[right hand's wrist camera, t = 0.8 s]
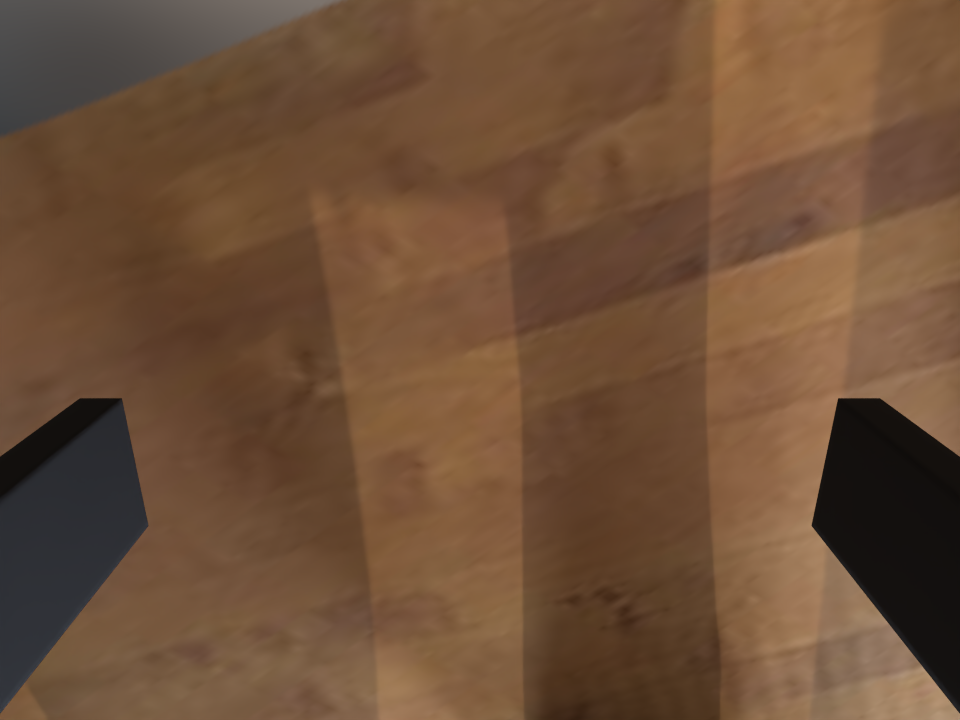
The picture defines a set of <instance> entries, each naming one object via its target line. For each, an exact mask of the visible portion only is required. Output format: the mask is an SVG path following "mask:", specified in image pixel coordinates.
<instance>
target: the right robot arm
mask: <svg viewBox="0 0 960 720" xmlns="http://www.w3.org/2000/svg"><path fill="white" fill-rule="evenodd" d="M147 527H148V522H147V517H146V512H145V507H144V503H143V498H142V493H141V488H140V483H139V479H138V474H137V469H136V464H135V459H134V455H133V450H132V445H131V440H130V435H129V431H128V426H127V421H126V416H125V411H124V407H123V402H122V398H80V399H79V400H77V401H76V402H74V403H73V404H72V405H70V406H69V407H68V408H66V409H65V410H64V411H62V412H61V413H59V414H58V415H57V416H55V417H54V418H53V419H51V420H50V421H48V422H47V423H46V424H44V425H43V426H42V427H40V428H39V429H38V430H36V431H35V432H33V433H32V434H31V435H29V436H28V437H27V438H25V439H24V440H23V441H21V442H20V443H18V444H17V445H16V446H14V447H13V448H12V449H10V450H9V451H8V452H6V453H5V454H3V455H2V456H1V457H0V713H1V712H2V711H3V709H4V708H5V707H6V706H7V704H8V703H9V702H10V700H11V699H12V698H13V697H14V695H15V694H16V693H17V692H18V690H19V689H20V688H21V687H22V685H23V684H24V683H25V681H26V680H27V679H28V678H29V676H30V675H31V674H32V673H33V671H34V670H35V669H36V668H37V666H38V665H39V664H40V662H41V661H42V660H43V659H44V657H45V656H46V655H47V654H48V652H49V651H50V650H51V649H52V647H53V646H54V645H55V643H56V642H57V641H58V640H59V638H60V637H61V636H62V635H63V633H64V632H65V631H66V630H67V628H68V627H69V626H70V624H71V623H72V622H73V621H74V619H75V618H76V617H77V616H78V614H79V613H80V612H81V611H82V609H83V608H84V607H85V605H86V604H87V603H88V602H89V600H90V599H91V598H92V597H93V595H94V594H95V593H96V592H97V590H98V589H99V588H100V586H101V585H102V584H103V583H104V581H105V580H106V579H107V578H108V576H109V575H110V574H111V573H112V571H113V570H114V569H115V567H116V566H117V565H118V564H119V562H120V561H121V560H122V559H123V557H124V556H125V555H126V554H127V552H128V551H129V550H130V548H131V547H132V546H133V545H134V543H135V542H136V541H137V540H138V538H139V537H140V536H141V534H142V533H143V532H144V531H145V529H146V528H147ZM812 527H813V528H814V529H815V531H816V532H817V533H818V534H819V536H820V537H821V538H822V540H823V541H824V542H825V543H826V545H827V546H828V547H829V548H830V550H831V551H832V552H833V554H834V555H835V556H836V557H837V559H838V560H839V561H840V562H841V564H842V565H843V566H844V567H845V569H846V570H847V571H848V573H849V574H850V575H851V576H852V578H853V579H854V580H855V581H856V583H857V584H858V585H859V586H860V588H861V589H862V590H863V592H864V593H865V594H866V595H867V597H868V598H869V599H870V600H871V602H872V603H873V604H874V605H875V607H876V608H877V609H878V611H879V612H880V613H881V614H882V616H883V617H884V618H885V619H886V621H887V622H888V623H889V624H890V626H891V627H892V628H893V630H894V631H895V632H896V633H897V635H898V636H899V637H900V638H901V640H902V641H903V642H904V643H905V645H906V646H907V647H908V649H909V650H910V651H911V652H912V654H913V655H914V656H915V657H916V659H917V660H918V661H919V662H920V664H921V665H922V666H923V668H924V669H925V670H926V671H927V673H928V674H929V675H930V676H931V678H932V679H933V680H934V681H935V683H936V684H937V685H938V687H939V688H940V689H941V690H942V692H943V693H944V694H945V695H946V697H947V698H948V699H949V700H950V702H951V703H952V704H953V706H954V707H955V708H956V709H957V711H958V712H959V713H960V457H959V456H958V455H957V454H955V453H954V452H952V451H951V450H950V449H948V448H947V447H946V446H944V445H943V444H942V443H940V442H939V441H937V440H936V439H935V438H933V437H932V436H931V435H929V434H928V433H927V432H925V431H924V430H922V429H921V428H920V427H918V426H917V425H916V424H914V423H913V422H912V421H910V420H909V419H907V418H906V417H905V416H903V415H902V414H901V413H899V412H898V411H896V410H895V409H894V408H892V407H891V406H890V405H888V404H887V403H886V402H884V401H883V400H881V399H880V398H838V402H837V407H836V411H835V416H834V421H833V426H832V431H831V435H830V440H829V445H828V450H827V455H826V459H825V464H824V469H823V474H822V479H821V483H820V488H819V493H818V498H817V503H816V507H815V512H814V517H813V522H812Z"/></svg>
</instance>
